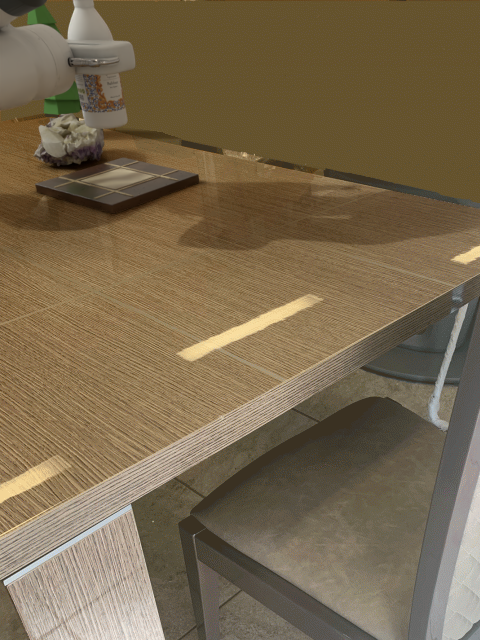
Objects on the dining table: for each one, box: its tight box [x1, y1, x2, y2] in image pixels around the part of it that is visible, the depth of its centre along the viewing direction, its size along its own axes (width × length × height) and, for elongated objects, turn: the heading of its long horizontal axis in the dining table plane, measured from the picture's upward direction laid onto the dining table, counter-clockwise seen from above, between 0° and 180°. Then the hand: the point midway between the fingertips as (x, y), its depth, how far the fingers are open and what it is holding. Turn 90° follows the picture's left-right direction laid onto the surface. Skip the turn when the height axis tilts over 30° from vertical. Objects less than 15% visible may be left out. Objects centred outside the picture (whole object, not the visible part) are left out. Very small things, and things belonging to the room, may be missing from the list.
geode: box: [33, 113, 105, 167], centre depth 125 cm, size 17×9×15 cm
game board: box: [34, 157, 200, 215], centre depth 114 cm, size 20×20×2 cm
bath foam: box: [67, 0, 128, 130], centre depth 101 cm, size 7×7×20 cm
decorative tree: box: [26, 3, 82, 118], centre depth 136 cm, size 10×9×30 cm
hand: (95, 48), depth 101 cm, fingers closed on bath foam, 7 cm apart
